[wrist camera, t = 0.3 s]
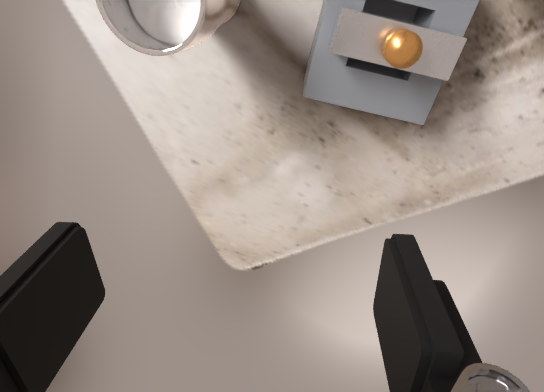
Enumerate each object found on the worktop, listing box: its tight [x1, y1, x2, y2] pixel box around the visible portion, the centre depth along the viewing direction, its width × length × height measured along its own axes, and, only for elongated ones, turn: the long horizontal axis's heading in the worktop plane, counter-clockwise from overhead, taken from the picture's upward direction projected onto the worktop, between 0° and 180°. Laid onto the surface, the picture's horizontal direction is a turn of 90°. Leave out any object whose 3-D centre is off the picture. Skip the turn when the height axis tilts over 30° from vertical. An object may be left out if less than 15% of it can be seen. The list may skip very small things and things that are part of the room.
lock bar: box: [329, 6, 467, 81], centre depth 27 cm, size 3×9×5 cm, turn 78°
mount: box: [303, 0, 479, 125], centre depth 32 cm, size 12×11×6 cm
